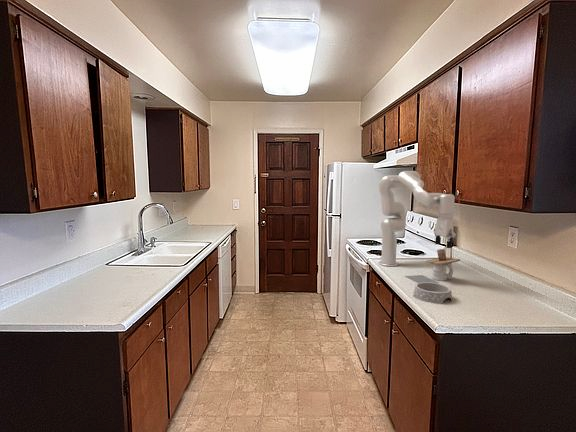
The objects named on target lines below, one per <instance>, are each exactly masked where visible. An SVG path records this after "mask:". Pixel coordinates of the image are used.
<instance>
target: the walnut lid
mask: <svg viewBox="0 0 576 432" xmlns="http://www.w3.org/2000/svg"><path fill="white" fill-rule="evenodd" d="M436 252H437V257H436V258H432V259H428V260H426V261H425V262H426V263H428V264H431V265H432V264H433V265H434V264H437V265H446V264H450V263H451V264H452V263H453V264H454V263H457V262H461V258H453V257H447V256H446V250H445V249H444V248H440V249H437V250H436Z"/></svg>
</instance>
